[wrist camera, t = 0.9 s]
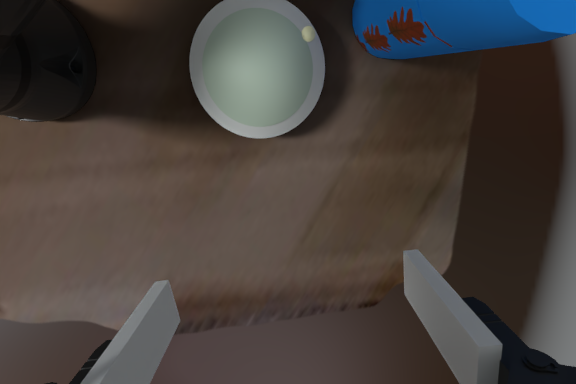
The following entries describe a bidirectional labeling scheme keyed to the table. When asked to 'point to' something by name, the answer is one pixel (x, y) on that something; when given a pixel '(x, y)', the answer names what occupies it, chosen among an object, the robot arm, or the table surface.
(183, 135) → the table surface
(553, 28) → the thermos
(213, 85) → the levelling base
